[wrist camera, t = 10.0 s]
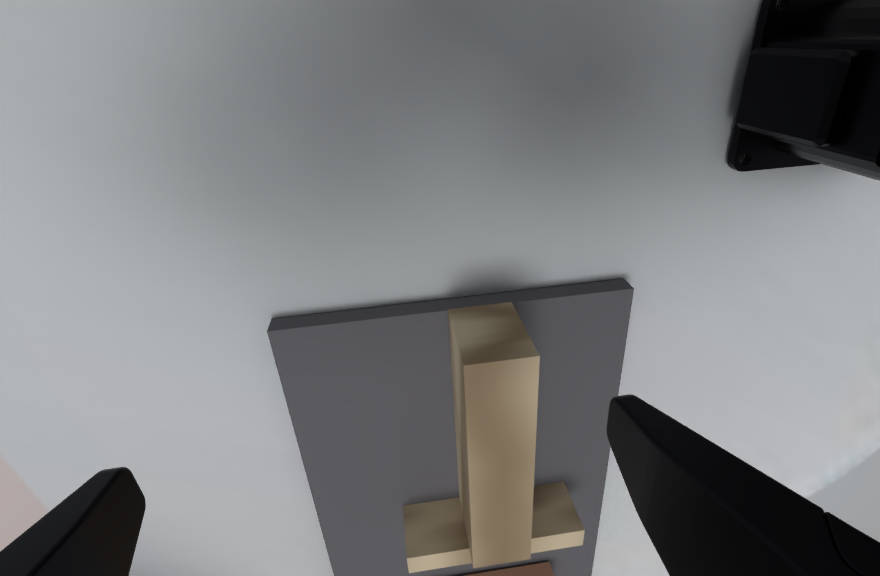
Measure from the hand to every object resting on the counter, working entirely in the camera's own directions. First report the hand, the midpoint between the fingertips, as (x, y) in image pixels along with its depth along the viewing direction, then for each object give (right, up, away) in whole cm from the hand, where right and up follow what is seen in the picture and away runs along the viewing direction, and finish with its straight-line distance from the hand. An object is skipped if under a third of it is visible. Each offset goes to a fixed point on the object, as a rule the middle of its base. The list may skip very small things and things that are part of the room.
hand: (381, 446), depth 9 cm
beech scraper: (+3, -3, +15) cm, 15 cm away
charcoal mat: (+2, -9, +19) cm, 21 cm away
